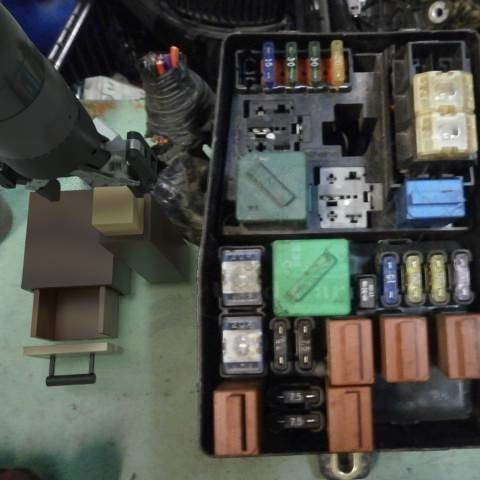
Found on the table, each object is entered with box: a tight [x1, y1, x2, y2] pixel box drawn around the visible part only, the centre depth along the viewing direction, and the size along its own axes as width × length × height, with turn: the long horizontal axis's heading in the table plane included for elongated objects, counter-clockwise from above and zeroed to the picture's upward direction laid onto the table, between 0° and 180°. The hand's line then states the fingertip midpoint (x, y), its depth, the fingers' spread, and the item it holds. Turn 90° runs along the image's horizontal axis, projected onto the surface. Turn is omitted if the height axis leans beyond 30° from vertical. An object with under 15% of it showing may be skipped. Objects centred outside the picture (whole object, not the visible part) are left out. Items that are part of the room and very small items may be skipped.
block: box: [92, 185, 144, 236], centre depth 62 cm, size 4×4×4 cm
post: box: [98, 192, 190, 285], centre depth 75 cm, size 6×6×24 cm
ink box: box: [78, 116, 127, 189], centre depth 85 cm, size 9×5×12 cm, turn 141°
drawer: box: [22, 285, 124, 388], centre depth 79 cm, size 18×11×7 cm, turn 4°
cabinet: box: [20, 188, 133, 297], centre depth 83 cm, size 15×13×9 cm
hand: (99, 191), depth 56 cm, fingers open, 8 cm apart
